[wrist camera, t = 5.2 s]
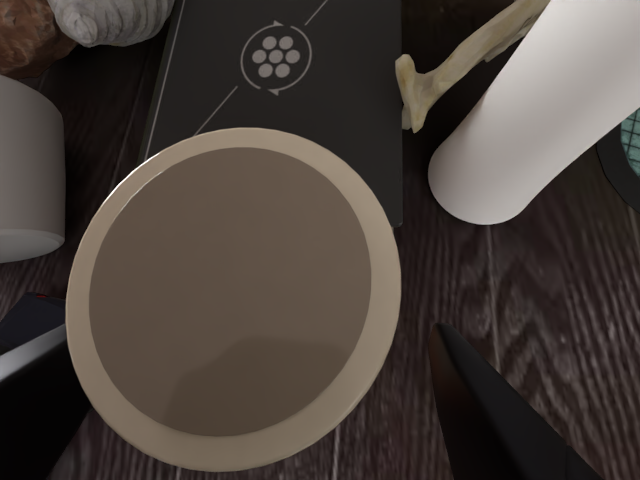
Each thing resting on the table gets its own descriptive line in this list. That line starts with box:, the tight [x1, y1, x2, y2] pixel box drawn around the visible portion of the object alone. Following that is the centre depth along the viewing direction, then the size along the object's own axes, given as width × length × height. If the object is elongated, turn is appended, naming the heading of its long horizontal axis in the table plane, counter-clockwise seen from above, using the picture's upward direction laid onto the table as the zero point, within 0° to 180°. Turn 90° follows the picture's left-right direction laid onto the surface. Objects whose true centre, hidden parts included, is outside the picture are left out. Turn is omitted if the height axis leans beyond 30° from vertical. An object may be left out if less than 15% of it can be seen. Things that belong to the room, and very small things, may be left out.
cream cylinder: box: [65, 128, 402, 472], centre depth 11 cm, size 6×6×12 cm
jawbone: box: [395, 0, 551, 133], centre depth 17 cm, size 12×13×8 cm
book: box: [135, 0, 403, 234], centre depth 20 cm, size 22×15×3 cm
